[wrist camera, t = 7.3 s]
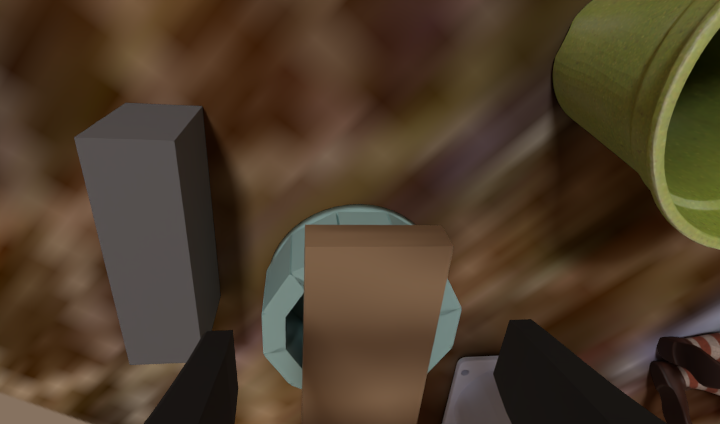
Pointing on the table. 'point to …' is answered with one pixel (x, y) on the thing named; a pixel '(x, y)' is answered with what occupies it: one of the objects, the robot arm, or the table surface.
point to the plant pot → (652, 99)
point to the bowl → (288, 292)
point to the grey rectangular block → (154, 225)
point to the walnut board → (370, 320)
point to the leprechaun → (685, 372)
